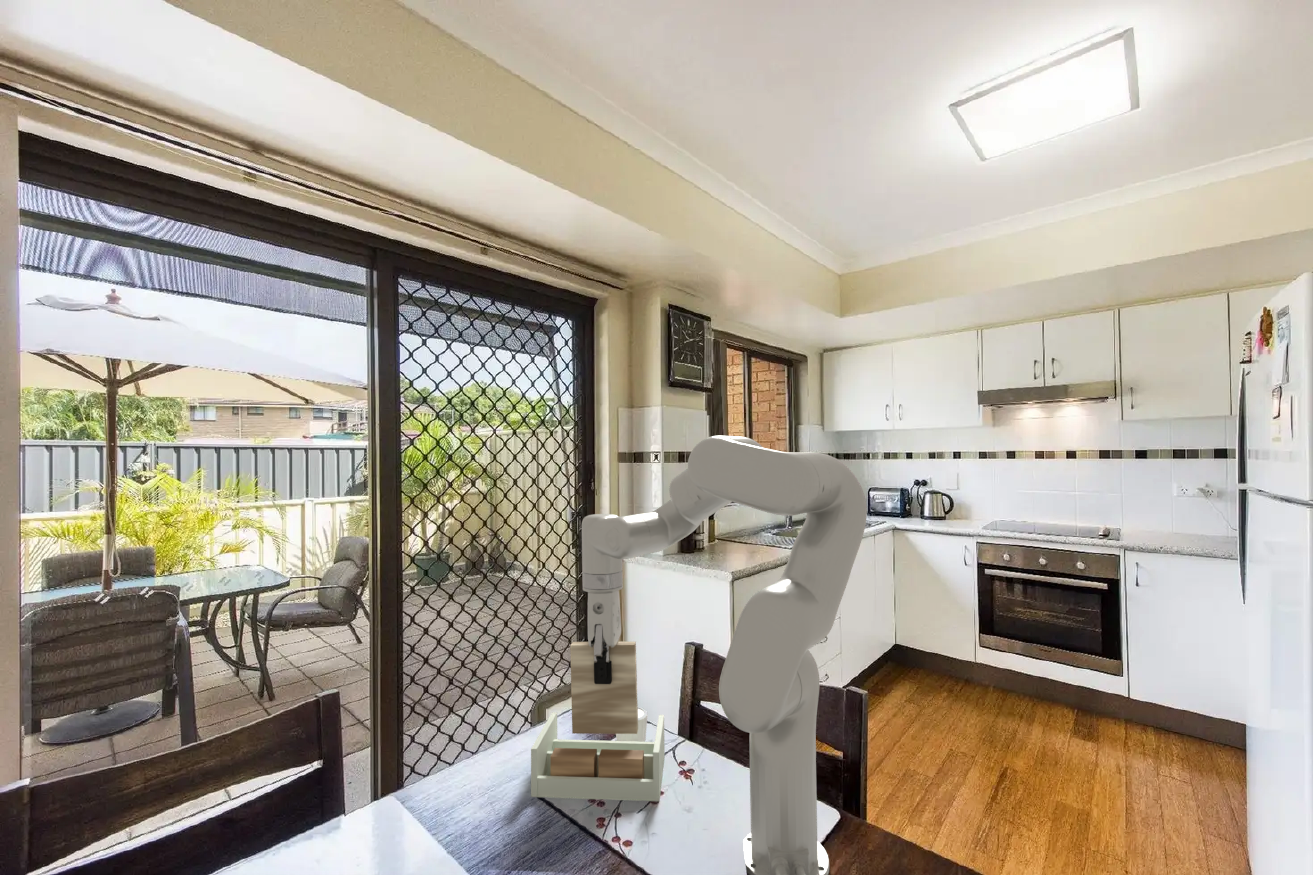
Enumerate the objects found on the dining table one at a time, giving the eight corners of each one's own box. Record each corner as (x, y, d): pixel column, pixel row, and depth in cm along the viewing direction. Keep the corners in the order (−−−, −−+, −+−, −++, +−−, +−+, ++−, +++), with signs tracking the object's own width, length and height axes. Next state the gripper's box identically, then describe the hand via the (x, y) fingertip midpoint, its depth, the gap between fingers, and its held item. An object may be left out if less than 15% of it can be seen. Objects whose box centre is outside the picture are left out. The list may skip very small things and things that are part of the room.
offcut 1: (594, 793, 97) (593, 757, 97) (550, 791, 98) (550, 756, 98) (597, 783, 100) (596, 748, 100) (555, 782, 101) (554, 747, 101)
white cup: (609, 753, 113) (609, 718, 113) (621, 737, 119) (621, 704, 120) (641, 758, 111) (641, 722, 111) (652, 742, 117) (652, 707, 118)
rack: (659, 810, 95) (658, 752, 95) (531, 805, 96) (530, 748, 97) (664, 765, 109) (664, 714, 109) (552, 761, 110) (552, 712, 111)
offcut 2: (642, 795, 96) (642, 759, 97) (598, 793, 97) (598, 758, 97) (644, 785, 99) (643, 750, 100) (601, 783, 100) (601, 749, 100)
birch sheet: (637, 733, 103) (634, 644, 104) (572, 733, 104) (570, 645, 105) (638, 728, 105) (635, 641, 106) (574, 728, 106) (572, 641, 107)
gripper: (616, 590, 98) (618, 698, 97) (627, 572, 113) (629, 665, 112) (573, 590, 98) (575, 698, 97) (591, 572, 114) (592, 665, 113)
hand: (604, 679), depth 105 cm, fingers closed on birch sheet, 2 cm apart
